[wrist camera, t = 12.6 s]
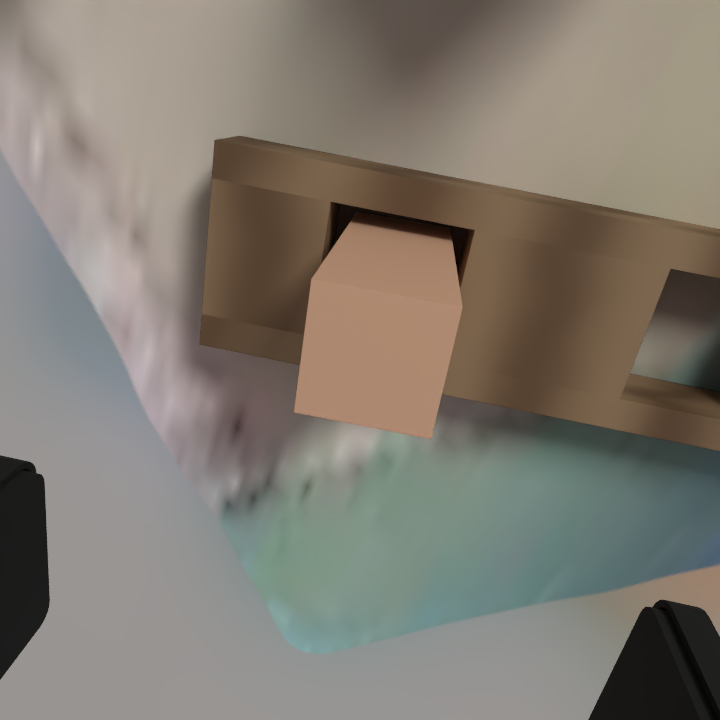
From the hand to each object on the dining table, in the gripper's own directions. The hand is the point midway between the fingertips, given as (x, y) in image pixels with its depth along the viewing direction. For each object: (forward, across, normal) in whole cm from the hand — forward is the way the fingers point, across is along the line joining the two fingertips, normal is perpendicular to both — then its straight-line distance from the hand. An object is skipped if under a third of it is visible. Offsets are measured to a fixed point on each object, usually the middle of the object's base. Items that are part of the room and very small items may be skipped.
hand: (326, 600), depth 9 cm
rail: (+22, -7, 0) cm, 23 cm away
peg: (+22, 0, 0) cm, 22 cm away
